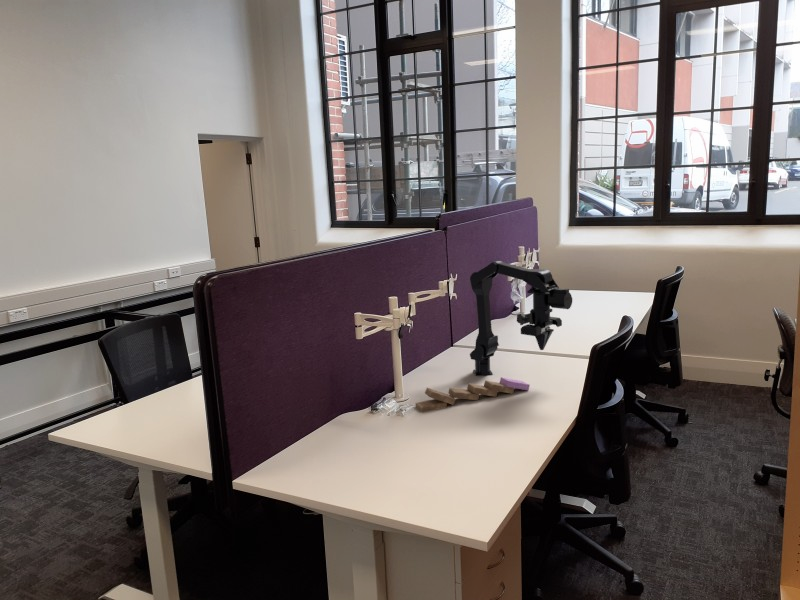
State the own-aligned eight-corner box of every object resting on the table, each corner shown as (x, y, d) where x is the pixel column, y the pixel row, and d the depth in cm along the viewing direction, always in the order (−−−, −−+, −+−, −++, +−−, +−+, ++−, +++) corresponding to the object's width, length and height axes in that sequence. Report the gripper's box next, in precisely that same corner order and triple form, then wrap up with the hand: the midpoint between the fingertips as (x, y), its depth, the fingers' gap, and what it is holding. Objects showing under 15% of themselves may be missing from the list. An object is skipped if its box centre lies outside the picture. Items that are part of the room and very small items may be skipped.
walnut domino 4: (490, 387, 212) (468, 383, 209) (497, 391, 208) (474, 387, 204) (489, 392, 213) (466, 388, 209) (496, 396, 208) (473, 393, 205)
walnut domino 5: (506, 384, 215) (485, 380, 211) (514, 388, 210) (492, 384, 206) (505, 389, 215) (483, 385, 211) (513, 393, 210) (491, 390, 207)
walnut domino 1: (440, 398, 205) (415, 402, 202) (446, 402, 201) (421, 407, 197) (440, 403, 206) (415, 408, 202) (446, 408, 201) (421, 413, 198)
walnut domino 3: (473, 389, 210) (449, 387, 207) (479, 394, 205) (454, 392, 203) (472, 395, 210) (448, 393, 208) (478, 400, 206) (453, 397, 203)
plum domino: (521, 380, 217) (500, 377, 214) (529, 384, 212) (508, 381, 209) (520, 386, 217) (499, 382, 214) (528, 390, 213) (506, 386, 209)
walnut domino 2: (450, 395, 206) (427, 387, 204) (455, 399, 202) (432, 391, 199) (448, 400, 206) (424, 393, 204) (453, 405, 202) (429, 397, 199)
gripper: (534, 299, 224) (535, 340, 227) (507, 308, 211) (507, 352, 214) (562, 302, 217) (562, 345, 220) (535, 312, 203) (535, 357, 206)
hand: (541, 349), depth 215 cm, fingers closed
